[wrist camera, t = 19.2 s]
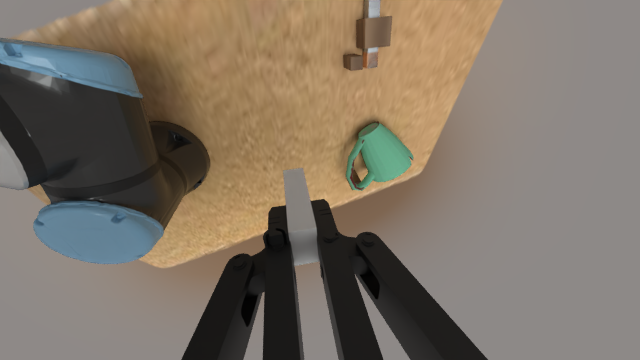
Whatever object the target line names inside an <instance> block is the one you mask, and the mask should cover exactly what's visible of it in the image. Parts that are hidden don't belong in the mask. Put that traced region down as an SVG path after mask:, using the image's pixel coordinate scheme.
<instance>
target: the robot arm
mask: <svg viewBox="0 0 640 360" xmlns="http://www.w3.org/2000/svg"><path fill="white" fill-rule="evenodd" d="M142 98H143V95H142V94H141V93H140V92H139V89H138V86H137V84H136V81H135V78H134V75H133V72H132V70H131V68H130V66H129V65H128V64H127V63H126V62H125V61H124V60H123V59H121V58H120V57H118V56H116V55H113V54H110V53H105V52H100V51H94V50H87V49H81V48H74V47H67V46H60V45H52V44H45V43H37V42H30V41H22V40H14V39H6V38H0V187H6V188H11V189H16V190H23V189H27V188H30V187H33V186H36V185H39V184H40V185H41V186H42V188H43V190H44V191H45V193H46V194H47V196H48V197H49V199H50V201H51V204H49V205H47V206H45V207H44V208H42V209H41V210H40V211H39V215H38V217H37V219H36V220H35V221H34V226H33V228H34V231H35V234H36V235H37V237H38V238H39V239H40V240H41V241H42V242H43V243H44V244H45V245H46V246H48V247H49V248H51V249H52V250H54V251H56V252H58V253H60V254H62V255H65V256H67V257H70V258H74V259H78V260H81V261H85V262H90V263H98V264H118V263H126V262H130V261H133V260H136V259H139V258H141V257H143V256H144V255H145V254H147V253H148V252H149V251H150V250H151V249H152V248H153V247H154V245H155V244H156V243H157V241H158V240H159V239H160V238H161V237H162V236H163V233H164V230H165V228H166V226H167V224H168V223H169V221H170V219H171V218H172V216H173V214H174V212H175V211H176V209H177V207H178V205H179V204H180V202H181V200H182V198H183V197H184V196H185V195H187V194H188V193H190V192H191V191H193V190H194V189H196V188H197V187H198V186H200V185H201V183H202V182H203V181H204V179H205V177H206V175H207V173H208V171H209V166H210V161H209V156H208V153H207V150H206V149H205V147H204V145H203V144H202V143H201V141H200V140H199V139H198V138H197V137H196V136H195V135H193V134H192V133H191V132H189V131H188V130H186V129H184V128H182V127H180V126H178V125H175V124H172V123H167V122H149V121H148V118H147V114H146V111H145V107H144V104H143V101H142ZM283 174H284V187H285V199H286V205H285V206H278V207H272V208H271V210H270V211H269V213H268V230H267V231H266V232H265V233H264V236H263V240H264V243H265V248H264V249H263V250H262V251H261V252H259V253H257V254H255V255H253V256H250V255H248V254H244V253H243V254H238V255H236V256H234V257H232V258H231V259H230V260H229V261H228V263H227V264H226V266H225V269H224V271H223V273H222V275H221V277H220V279H219V282H218V283H217V285H216V288H215V290H214V292H213V294H212V296H211V298H210V300H209V303H208V305H207V307H206V309H205V311H204V313H203V315H202V317H201V319H200V321H199V323H198V326H197V328H196V330H195V332H194V334H193V336H192V338H191V341H190V342H189V345H188V347H187V349H186V351H185V353H184V355H183V357H182V360H243V358H244V355H245V352H246V348H247V345H248V341H249V338H250V334H251V330H252V327H253V323H254V320H255V317H256V313H257V310H258V306H259V303H260V299H261V296H262V292H264V291H265V299H264V336H263V360H304V352H303V342H302V333H301V323H300V313H299V303H298V293H297V284H296V273H295V267H294V266H296V265H301V264H307V263H313V262H317V261H320V269H321V277H322V279H323V284H324V289H325V294H326V299H327V304H328V308H329V314H330V319H331V324H332V329H333V334H334V338H335V343H336V348H337V354H338V358H339V360H383V357H382V354H381V351H380V348H379V345H378V342H377V340H376V336H375V334H374V331H373V328H372V325H371V322H370V319H369V316H368V313H367V310H366V307H365V304H364V301H363V298H362V295H361V292H360V289H359V286H358V283H357V280H356V278H355V274H356V276H357V278H358V279H359V281H360V282H361V284H362V285H363V287H364V289H365V290H366V292H367V293H368V295H369V296H370V298H371V299H372V301H373V302H374V304H375V305H376V307H377V309H378V310H379V312H380V313H381V315H382V316H383V318H384V319H385V321H386V323H387V324H388V325H389V327H390V328H391V330H392V332H393V333H394V335H395V336H396V338H397V339H398V341H399V343H400V344H401V346H402V347H403V349H404V350H405V352H406V353H407V355H408V356H409V358H410V359H411V360H488V359H487V358H486V357H485V356H484V355H483V354H482V353H481V351H479V349H478V348H477V347H476V346H475V345H474V344H473V343H472V341H471V340H470V339H469V338H468V337H467V336H466V335H465V333H464V332H463V331H462V330H461V329H460V328H459V327H458V326H457V325H456V323H455V322H454V321H453V320H452V319H451V318H450V317H449V315H447V313H446V312H445V311H444V310H443V309H442V308H441V306H440V305H439V304H438V303H437V302H436V301H435V300H434V299H433V298H432V296H431V295H430V294H429V293H428V292H427V291H426V290H425V288H424V287H423V286H422V285H421V284H420V283H419V282H418V281H417V279H416V278H415V277H414V276H413V275H412V274H411V273H410V272H409V271H408V269H407V268H406V267H405V266H404V265H403V264H402V263H401V261H400V260H399V259H398V258H397V257H396V256H395V255H394V254H393V252H392V251H391V250H390V249H389V248H388V247H387V246H386V245H385V243H384V242H383V241H382V240H381V239H380V238H379V237H378V236H377V235H376V234H374V233H371V232H363V233H360V234H359V235H358V236H357V237H356V238H354V237H347V236H344V235H342V234H340V233H339V232H338V230H337V228H336V225H335V222H334V218H333V215H332V213H331V210H330V206H329V203H328V202H327V201H325V200H324V199H321V200H315V201H310V197H309V193H308V188H307V184H306V179H305V175H304V171H303V168H298V169H290V170H283Z"/></svg>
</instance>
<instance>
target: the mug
mask: <svg viewBox="0 0 640 360" xmlns="http://www.w3.org/2000/svg"><path fill="white" fill-rule="evenodd" d="M360 150H361V153H362V156H363V159H364V162H365V164H366V167H367V170H368V174H367V175H366V177H365V178H364V179H363V180H362V181H361V182H360V183H359V184H358V185H357V184H355V182H354V181H353V168H354V160H355V158H356V156H357V155H358V153H359V151H360ZM409 157H410V158H411V159H412V160H413V155H412V154H411V152H410V150H409V149H408V148H407V147H406V146H405V145H404V144H403V143H402V142H401V141H400V140H399V139H398V138H397V137H396V136H395V135H394V134H393V133H392V132H391V131H390V130H388V129H387V128H386V127H384V126H383V125H382V124H380V123H379V122H374V123H372V124H370V125H368V126H366V127H365V128H363V129H362V130H361V131H360V132H359V134H358V141H357V143H356V144H355V146H354V148H353V150H352V152H351V153H350V155H349V157H348V164H347V171H346V177H347V179H348V181H349V183H350V185H351V188H352V189H353V190H361V191H362V190H364V189H365V188H366V187H367V186H368V185H369V184H370V183H371V182H372V180H374V181H376V182H385V181H389V180H392V179H394V178H396V177H398V176H400V175H401V174H402V173H404V172H405V171H406V170H407V169H408V168H409V167H410V166H411V161H410V159H409Z"/></svg>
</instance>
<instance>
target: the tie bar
mask: <svg viewBox="0 0 640 360" xmlns="http://www.w3.org/2000/svg"><path fill="white" fill-rule="evenodd" d="M379 15H380V0H364V19H367V18H377V17H379ZM377 65H378V47H376V48H367V49H364V48H363V67H365V68H374V67H377Z"/></svg>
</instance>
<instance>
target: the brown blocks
mask: <svg viewBox="0 0 640 360" xmlns="http://www.w3.org/2000/svg"><path fill="white" fill-rule="evenodd" d="M391 25H392V16H387V17H377V18H367V19H361V20H357V47H358V48H364V49H367V48H376V47H385V46H390V40H391ZM344 68H346V69H348V70H350V71H353V70H362V69H363V56H361V55H357V54H348V55H344ZM347 180H348V179H347ZM353 181H354V182H355V184H357V185H358V184H359V183H360V182H361V181H360V179H359V177H358V175H357V173H356V172H355V170H353ZM348 182H349V181H348ZM349 184H350V183H349ZM350 187H351V185H350ZM351 189H352V188H351ZM352 190H353V189H352Z"/></svg>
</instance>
